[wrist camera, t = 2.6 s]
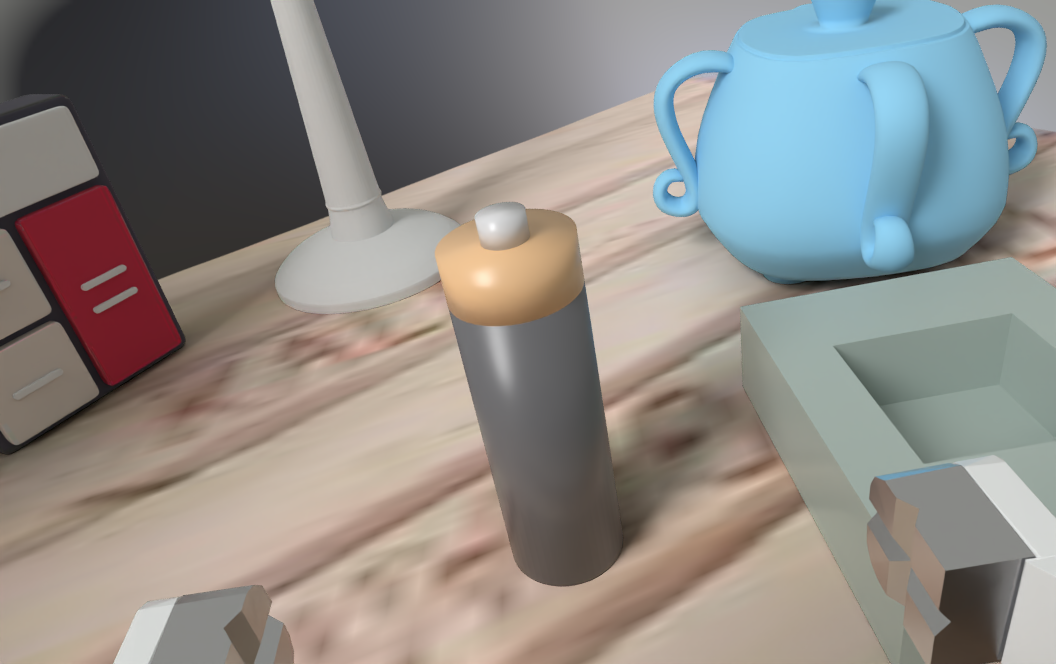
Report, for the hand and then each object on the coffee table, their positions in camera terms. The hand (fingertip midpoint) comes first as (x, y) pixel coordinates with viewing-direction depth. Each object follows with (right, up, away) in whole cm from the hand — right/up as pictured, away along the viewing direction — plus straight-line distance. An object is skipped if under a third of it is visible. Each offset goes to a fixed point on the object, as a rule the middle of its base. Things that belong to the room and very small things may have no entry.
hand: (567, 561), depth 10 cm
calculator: (-25, 0, +33) cm, 41 cm away
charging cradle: (+15, -2, +17) cm, 22 cm away
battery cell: (+1, -4, +17) cm, 18 cm away
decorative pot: (+17, +8, +33) cm, 38 cm away
